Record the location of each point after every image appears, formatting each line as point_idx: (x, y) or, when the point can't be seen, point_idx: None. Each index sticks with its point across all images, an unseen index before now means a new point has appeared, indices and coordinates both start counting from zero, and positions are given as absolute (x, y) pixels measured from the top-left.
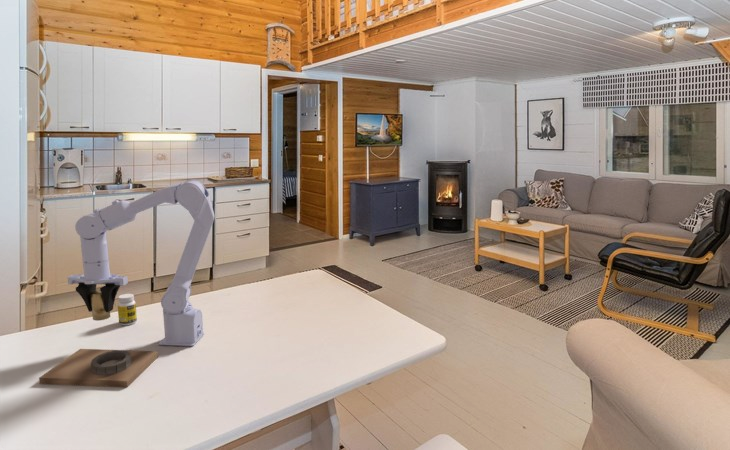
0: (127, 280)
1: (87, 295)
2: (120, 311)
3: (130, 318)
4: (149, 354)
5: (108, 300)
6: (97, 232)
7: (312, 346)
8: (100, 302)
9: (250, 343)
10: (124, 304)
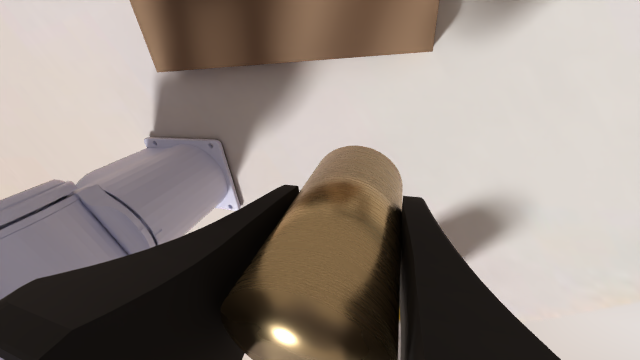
0: None
1: (415, 318)
2: None
3: None
4: (160, 46)
5: (206, 226)
6: None
7: (2, 147)
8: (282, 221)
9: (77, 156)
10: None
